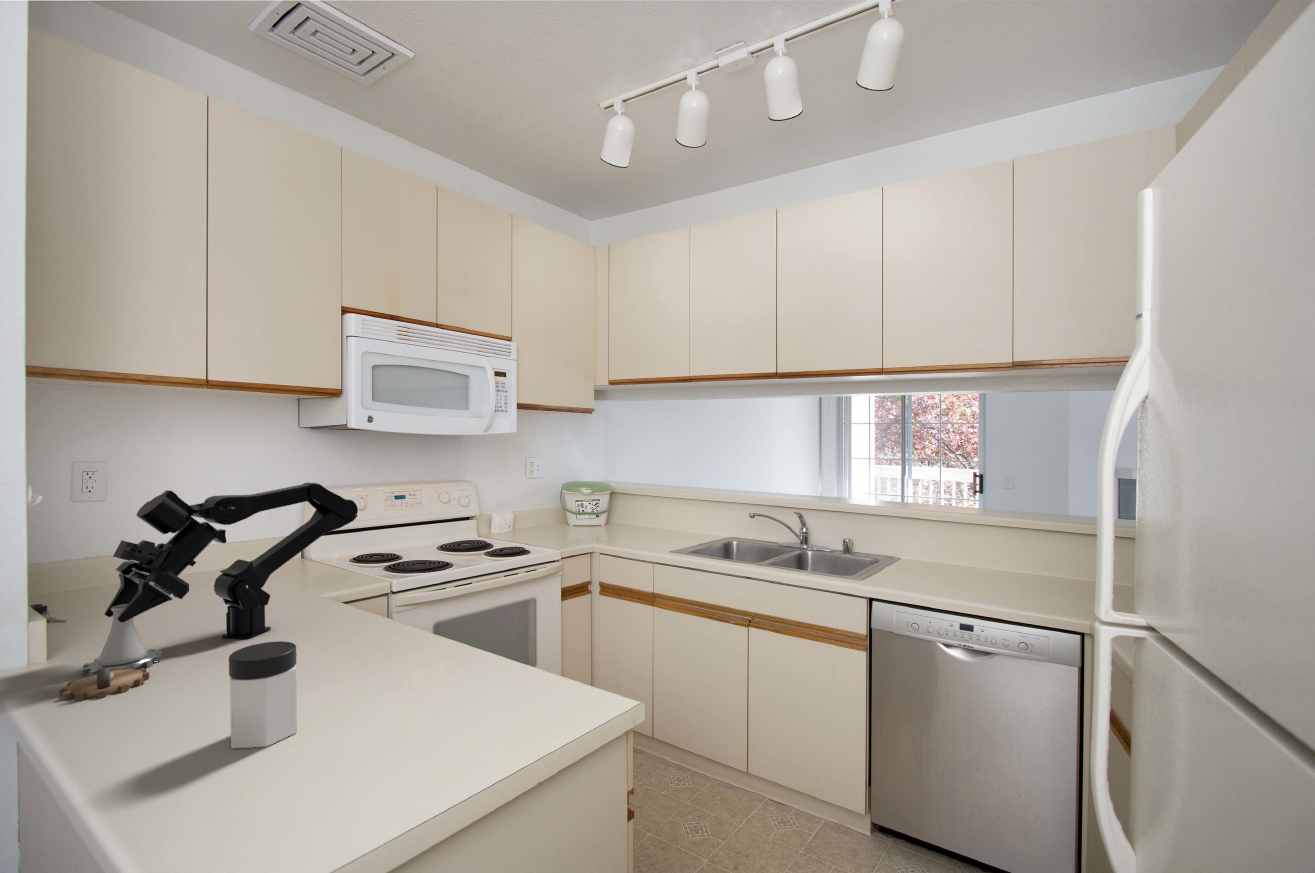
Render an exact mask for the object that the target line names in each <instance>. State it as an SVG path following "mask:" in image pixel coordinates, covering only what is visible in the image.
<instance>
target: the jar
mask: <svg viewBox="0 0 1315 873" xmlns="http://www.w3.org/2000/svg"><path fill="white" fill-rule="evenodd" d="M297 655H298V654H297V645H296V644H295V643H293V642H291V641H277V640H276V641H268V642H260V643H256V644H252V645H248V646H245V647H242V648H239V649H236V650H235V651H233V652H232V653H231V654H230V655H229V657H228V676H229V706H230V707H229V713H230V714H229V715H230V716H229V718H230V720H229V721H230V724H229V726H230V727H229V728H230V748H231V749H233V750H234V749H235V750H236V748H237V749H250V748H251V749H255V747H256V748H266V747H267V748H268V747H269V746H272V745H273V744H276V743H279V742H280V741H282V740H284V739H286V738H288V736H289V737H290V736H293V735H295V734H296V733H297V732H298V729H299V728H298V725H299V724H298V723H299V722H298V721H299V720H298V668H297V665H296V664H297V657H298V656H297Z"/></svg>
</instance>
